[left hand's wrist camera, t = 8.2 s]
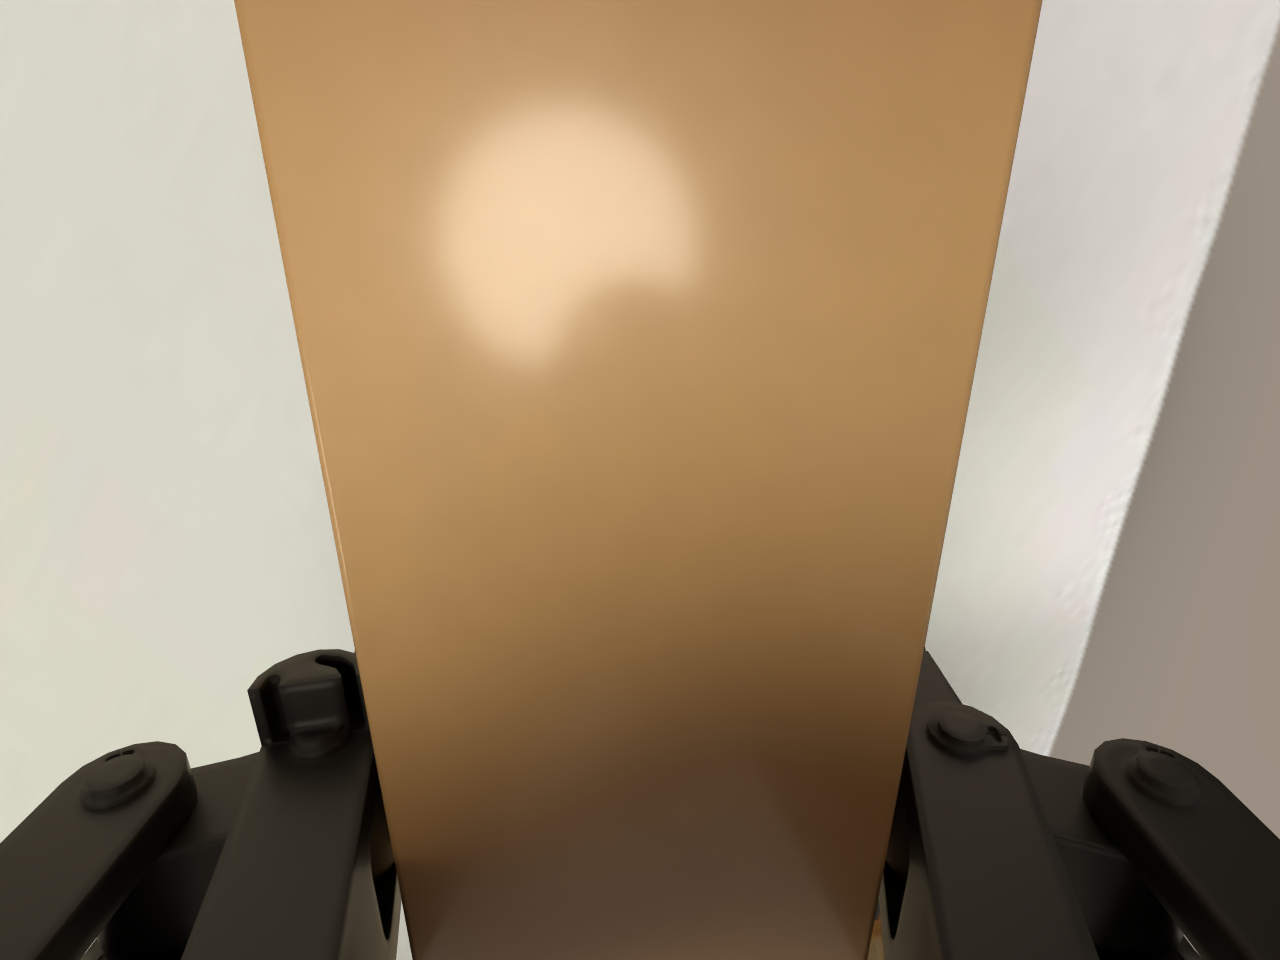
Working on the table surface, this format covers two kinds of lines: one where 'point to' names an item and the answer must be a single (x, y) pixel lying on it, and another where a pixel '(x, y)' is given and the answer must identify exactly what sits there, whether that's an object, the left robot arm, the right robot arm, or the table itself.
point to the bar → (639, 435)
